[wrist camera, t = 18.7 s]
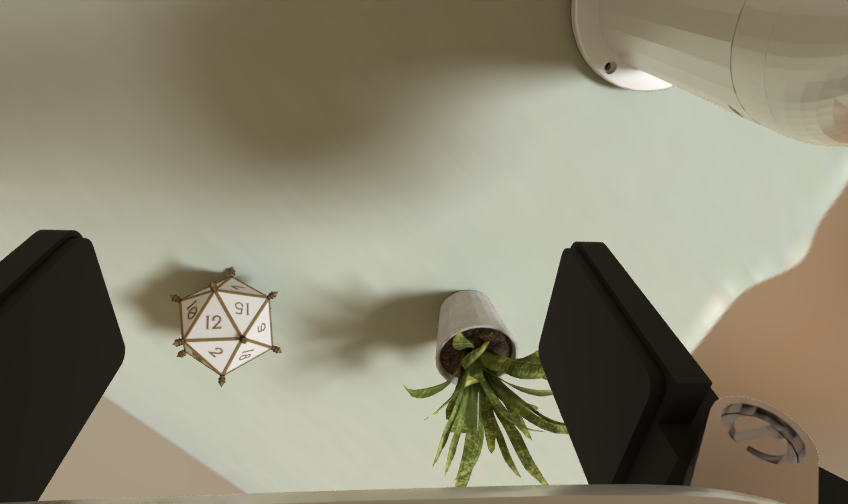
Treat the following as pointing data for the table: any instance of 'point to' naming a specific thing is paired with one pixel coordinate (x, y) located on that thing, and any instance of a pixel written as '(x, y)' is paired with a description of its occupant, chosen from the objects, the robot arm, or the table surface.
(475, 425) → the house plant
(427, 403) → the table surface
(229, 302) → the game die
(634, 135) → the table surface
